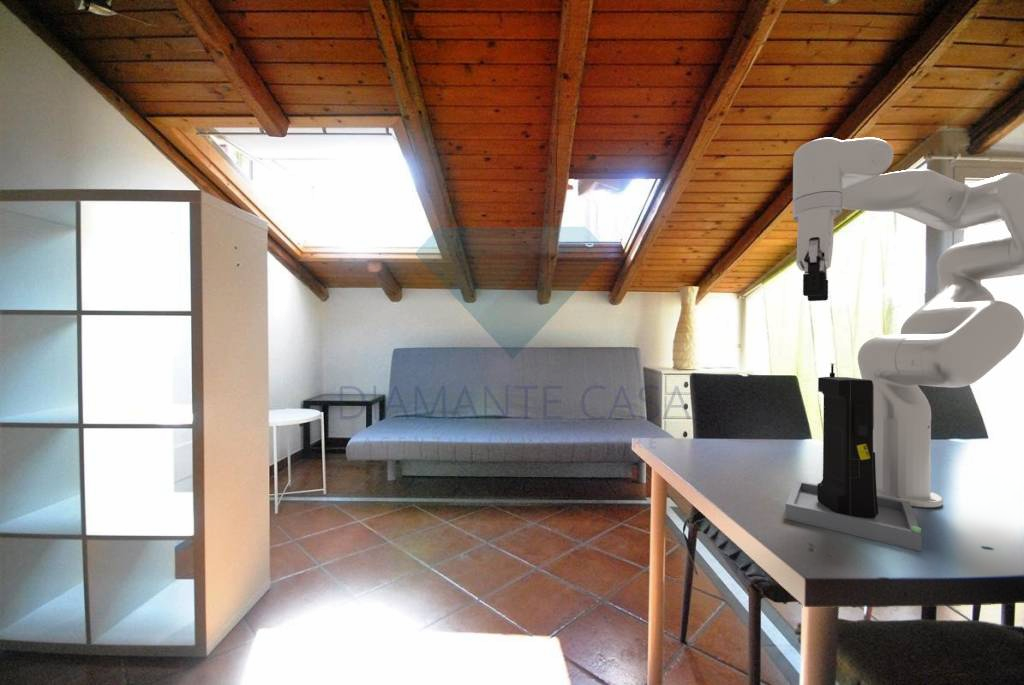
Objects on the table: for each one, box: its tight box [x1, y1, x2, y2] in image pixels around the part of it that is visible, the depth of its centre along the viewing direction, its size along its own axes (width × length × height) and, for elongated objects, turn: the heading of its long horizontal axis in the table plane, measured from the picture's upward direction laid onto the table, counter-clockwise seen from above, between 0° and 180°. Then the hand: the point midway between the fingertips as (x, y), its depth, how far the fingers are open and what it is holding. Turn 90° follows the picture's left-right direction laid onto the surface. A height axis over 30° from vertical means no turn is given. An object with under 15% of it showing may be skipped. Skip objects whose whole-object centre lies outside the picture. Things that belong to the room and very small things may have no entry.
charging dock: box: [785, 480, 922, 552], centre depth 68 cm, size 16×16×3 cm
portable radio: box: [817, 363, 878, 518], centre depth 69 cm, size 8×6×25 cm
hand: (815, 298), depth 76 cm, fingers open, 9 cm apart
